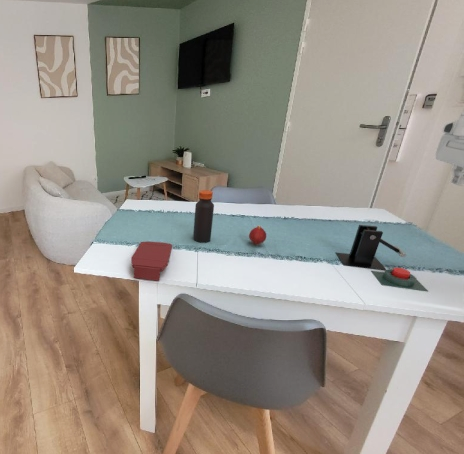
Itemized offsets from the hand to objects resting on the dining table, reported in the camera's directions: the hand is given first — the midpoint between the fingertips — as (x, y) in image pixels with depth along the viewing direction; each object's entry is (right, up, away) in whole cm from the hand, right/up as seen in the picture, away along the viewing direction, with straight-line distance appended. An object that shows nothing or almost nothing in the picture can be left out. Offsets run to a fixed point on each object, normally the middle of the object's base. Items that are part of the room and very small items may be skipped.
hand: (458, 184), depth 75 cm
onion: (-33, -18, +37) cm, 53 cm away
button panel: (-6, -28, +10) cm, 30 cm away
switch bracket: (-7, -23, +21) cm, 32 cm away
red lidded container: (-74, -23, +30) cm, 83 cm away
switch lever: (-5, -17, +17) cm, 24 cm away
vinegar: (-52, -16, +44) cm, 69 cm away
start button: (-6, -25, +9) cm, 27 cm away
